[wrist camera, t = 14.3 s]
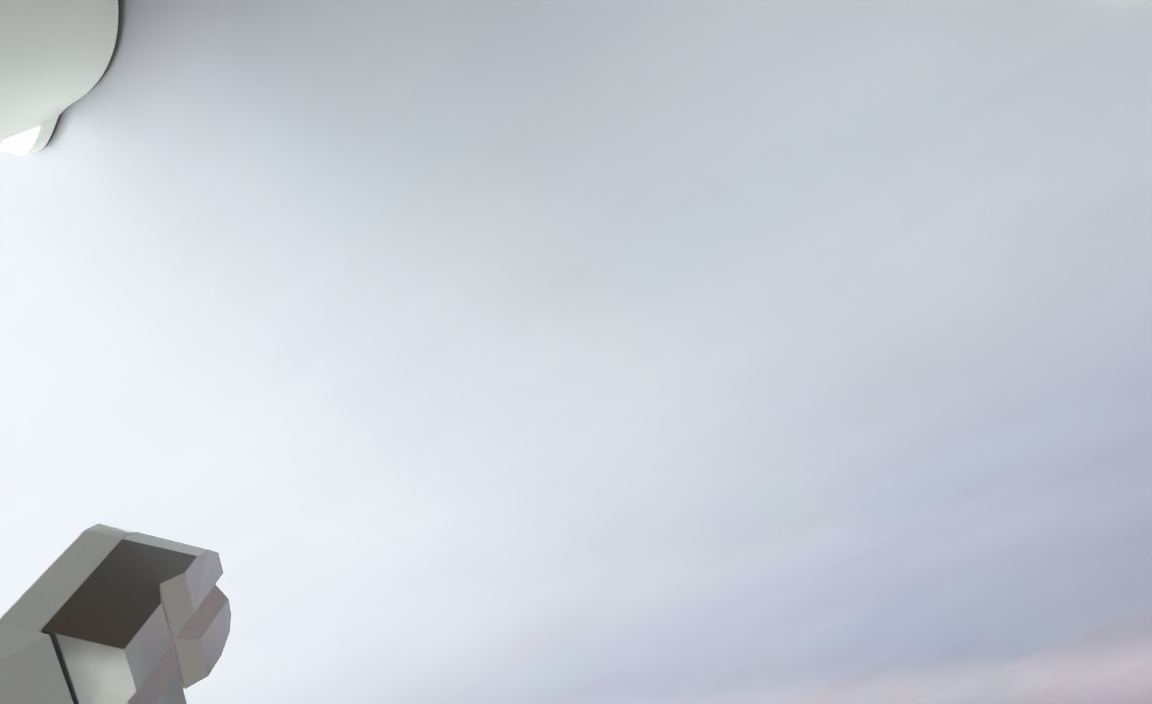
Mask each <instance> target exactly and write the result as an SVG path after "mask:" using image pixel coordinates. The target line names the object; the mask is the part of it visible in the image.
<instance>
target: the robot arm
mask: <svg viewBox="0 0 1152 704" xmlns="http://www.w3.org/2000/svg"><path fill="white" fill-rule="evenodd" d="M117 30H118V0H0V150H1V151H4V152H7V153H10V154H13V155H17V156H25V155H29V154H32V153H34V152H37V151H40V150H41V149H43V148H44V147H45V146H46V144H47V143H48V141H49V139H50V137H51V135H52V132H53V130H54V127H55V125H56V122H57V119H58V117H59V115H60V114H61V113H62V112H63V111H64V110H65V109H66V108H67V107H68V106H70V105H71V104H73V103H74V102H76V101H77V100H79V99H80V98H81V97H83V96H84V95H85V94H87V93H88V92H89V91H90V90H91V89H92V88H93V87H94V86H95V85H96V83H97V82H98V81H99V80H100V78H101V77H102V75H103V73H104V72H105V70H106V68H107V66H108V64H109V62H110V59H111V56H112V54H113V50H114V46H115V42H116V37H117ZM222 574H223V570H222V566H221V562H220V558H219V554H218V553H217V552H214V551H210V550H207V549H203V548H199V547H195V546H191V545H187V544H183V543H179V542H175V541H171V540H167V539H163V538H158V537H154V536H150V535H146V534H142V533H138V532H133V531H129V530H124V529H120V528H116V527H112V526H107V525H103V524H97V525H95V526H93V527H90V528H88V529H86V530H85V531H83V532H82V533H81V534H80V535H79V536H78V537H77V538H76V540H75V541H74V542H73V543H72V544H71V545H70V546H69V547H68V548H67V549H66V550H65V551H64V552H63V553H62V554H61V555H60V556H59V557H58V558H57V559H56V560H55V562H54V563H53V564H52V565H51V566H50V567H49V568H48V569H47V570H46V571H45V572H44V573H43V574H42V575H41V576H40V577H39V578H38V579H37V580H36V581H35V582H34V583H33V585H32V586H31V587H30V588H29V589H28V590H27V591H26V592H25V593H24V594H23V595H22V596H21V597H20V598H19V599H18V600H17V601H16V602H15V603H14V604H13V605H12V606H11V608H10V609H9V610H8V611H7V612H6V613H5V614H4V615H3V616H2V617H1V618H0V704H187V699H186V688H187V687H189V686H191V685H193V684H195V683H196V682H198V681H200V680H202V679H203V678H205V677H207V676H208V675H209V674H210V672H211V670H212V669H213V667H214V666H215V664H216V663H217V661H218V659H219V658H220V656H221V654H222V651H223V648H224V646H225V643H226V640H227V637H228V634H229V631H230V619H231V611H230V606H229V600H228V598H227V597H226V596H225V595H224V594H223V593H222V592H221V590H220V589H219V588H218V587H217V586H216V585H215V583H216V582H217V581H218V579H219V578H220V577H221V575H222ZM918 704H923V703H918Z"/></svg>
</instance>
